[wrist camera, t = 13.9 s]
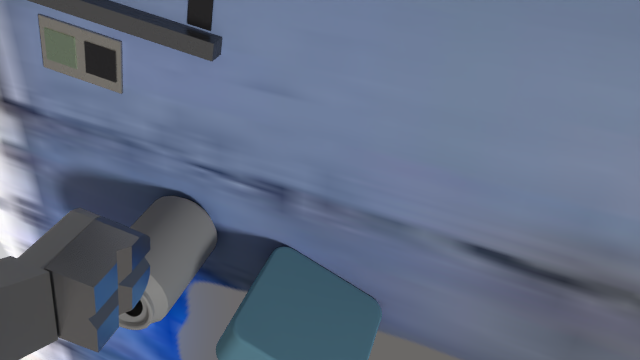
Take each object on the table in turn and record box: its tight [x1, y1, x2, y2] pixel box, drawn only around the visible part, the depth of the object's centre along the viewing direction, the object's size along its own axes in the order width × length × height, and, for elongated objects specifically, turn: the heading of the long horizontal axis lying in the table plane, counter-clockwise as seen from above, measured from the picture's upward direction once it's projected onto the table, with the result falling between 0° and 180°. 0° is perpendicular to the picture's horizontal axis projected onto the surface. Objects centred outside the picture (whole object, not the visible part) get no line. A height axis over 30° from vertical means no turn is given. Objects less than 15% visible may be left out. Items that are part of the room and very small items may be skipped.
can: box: [119, 196, 217, 330], centre depth 55 cm, size 8×8×12 cm
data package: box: [216, 247, 382, 360], centre depth 53 cm, size 12×4×12 cm, turn 63°
